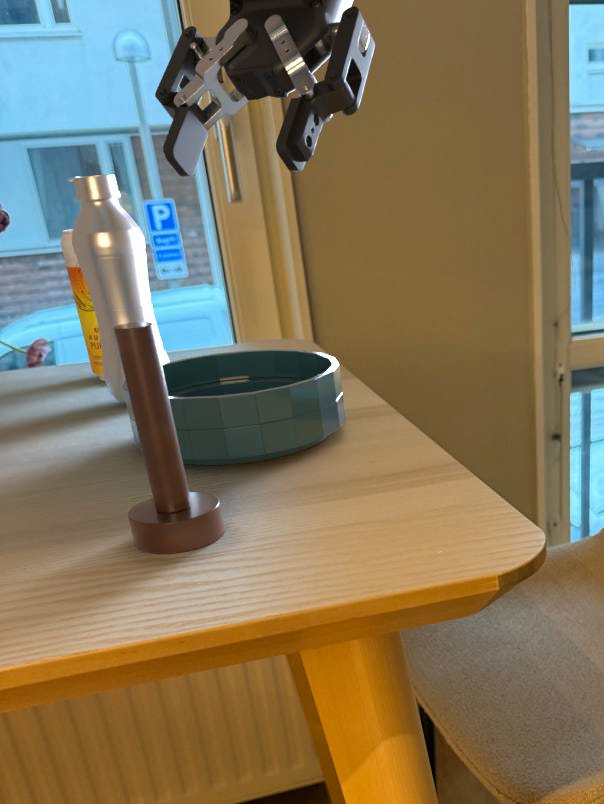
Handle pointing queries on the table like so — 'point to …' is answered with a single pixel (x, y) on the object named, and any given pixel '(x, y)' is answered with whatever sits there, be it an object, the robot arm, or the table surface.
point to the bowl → (251, 404)
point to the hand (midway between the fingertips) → (231, 164)
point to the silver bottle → (112, 269)
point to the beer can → (83, 305)
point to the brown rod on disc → (162, 455)
